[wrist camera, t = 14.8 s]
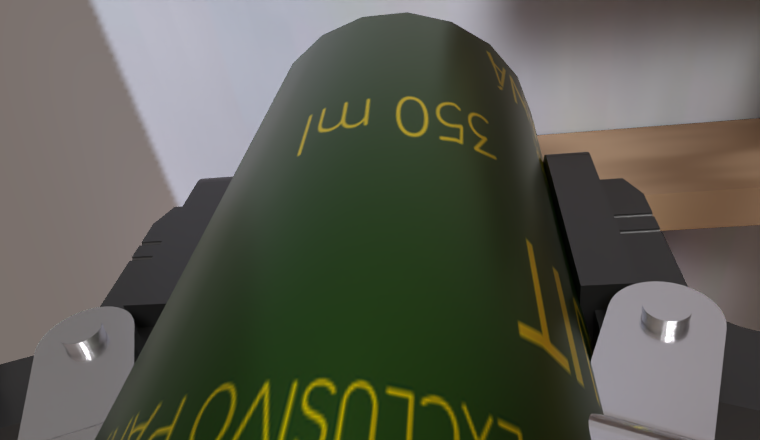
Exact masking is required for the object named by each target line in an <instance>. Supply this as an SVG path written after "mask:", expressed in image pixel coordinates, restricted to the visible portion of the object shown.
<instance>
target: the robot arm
mask: <svg viewBox="0 0 760 440" xmlns="http://www.w3.org/2000/svg"><path fill="white" fill-rule="evenodd" d="M543 164H544V168H545V172H546V175H547V179H548V183H549V187H550V191H551V195H552V199H553V203H554V206H555V210H556V214H557V218H558V222H559V226H560V230H561V234H562V237H563V241H564V245H565V249H566V253H567V257H568V261H569V265H570V269H571V272H572V276H573V280H574V284H575V288H576V292H577V296H578V300H579V303H580V306H581V309H582V311H583V314H584V318H585V322H586V326H587V330H588V333H589V337H590V341H591V345H592V349H593V356H592V359H591V365H592V369H593V373H594V377H595V381H596V385H597V389H598V393H599V397H600V401H601V405H602V409H603V414H604V415H601V414H597V413H592V414H591V415H590V417H589V431H590V436H591V440H760V332H759V331H755V330H750V329H746V328H743V327H740V326H736V325H734V324H731V323H729V322H727V321H726V319H725V316H724V314H723V312H722V311H721V309H720V308H719V307H718V305H717V304H716V303H715V302H714V301H712V300H711V299H710V298H709V297H707V296H706V295H704V294H702V293H701V292H699V291H696V290H694V289H692V288H689V287H688V286H687V284H686V282H685V280H684V278H683V275H682V273H681V271H680V269H679V267H678V265H677V263H676V261H675V259H674V257H673V254H672V252H671V250H670V248H669V246H668V244H667V242H666V240H665V238H664V235H663V233H662V232H660V227H659V225H658V223H657V221H656V219H655V217H654V216H653V212H652V210H651V208H650V206H649V204H648V202H647V200H646V198H645V195H644V193H642V192H641V191H639V190H638V189H637V188H635V187H634V186H633V185H631V184H630V183H629V182H627V181H626V180H625V179H623V178H616V179H601V180H600V178H599V176H598V173H597V171H596V168H595V165H594V163H593V160H592V158H591V155H590V153H589V152H576V153H562V154H548V155H544V159H543ZM232 178H233V177H221V178H208V179H200V180H199V181H198V182H197V184H196V185H195V187H194V189H193V190H192V192H191V194H190V195H189V197H188V199H187V200H186V202H185V204H184V205H183V207H174V208H173V209H172V210H170V211H169V212H168V213H167V214H165V215H164V216H163V217H162V218H160V219H159V220H158V221H156V222H155V223H154V224H153V225H152V227H151V229H150V230H149V232H148V233H147V235H146V237H145V238H144V239H143V241H142V246H139V247H138V249H137V250H136V252H135V253H134V255H133V257H132V258H133V260H132V261H129V263H128V264H127V266H126V267H125V269H124V270H123V272H122V274H121V275H120V277H119V278H118V280H117V281H116V283H115V284H114V286H113V288H112V289H111V291H110V292H109V294H108V295H107V297H106V298H105V300H104V301H103V303H102V305H101V306H100V307H96V308H92V309H88V310H85V311H82V312H79V313H77V314H74V315H72V316H70V317H68V318H66V319H65V320H63V321H61V322H60V323H59V324H57V325H56V326H54V327H53V328H52V329H51V330H49V331H48V333H47V334H45V335H44V337H43V338H42V340H41V341H40V342H39V344H38V345H37V347H36V350H35V353H34V356H30V357H27V358H23V359H19V360H16V361H12V362H8V363H4V364H1V365H0V440H95V438H96V436H97V434H98V432H99V430H100V429H101V427H102V425H103V423H104V421H105V419H106V417H107V415H108V413H109V411H110V410H111V408H112V406H113V404H114V402H115V400H116V398H117V396H118V394H119V393H120V391H121V389H122V387H123V385H124V383H125V381H126V379H127V377H128V375H129V374H130V372H131V370H132V368H133V366H134V364H135V362H136V360H137V358H138V356H139V355H140V353H141V351H142V349H143V347H144V345H145V343H146V341H147V339H148V337H149V336H150V334H151V332H152V330H153V328H154V326H155V324H156V322H157V320H158V319H159V317H160V315H161V313H162V311H163V309H164V307H165V305H166V303H167V301H168V300H169V298H170V296H171V294H172V292H173V290H174V288H175V286H176V284H177V282H178V281H179V279H180V277H181V275H182V273H183V271H184V269H185V267H186V265H187V264H188V262H189V260H190V258H191V256H192V254H193V252H194V250H195V248H196V246H197V245H198V243H199V241H200V239H201V237H202V235H203V233H204V231H205V229H206V227H207V226H208V224H209V222H210V220H211V218H212V216H213V214H214V212H215V210H216V209H217V207H218V205H219V203H220V201H221V199H222V197H223V195H224V193H225V191H226V190H227V188H228V186H229V184H230V182H231V180H232Z"/></svg>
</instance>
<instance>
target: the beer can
mask: <svg viewBox="0 0 760 440" xmlns="http://www.w3.org/2000/svg"><path fill="white" fill-rule="evenodd" d="M592 356H593V349H592V345H591V341H590V337H589V333H588V330H587V326H586V322H585V318H584V314H583V311H582V309H581V306H580V303H579V300H578V296H577V292H576V288H575V284H574V280H573V276H572V272H571V269H570V265H569V261H568V257H567V253H566V249H565V245H564V241H563V237H562V234H561V230H560V226H559V222H558V218H557V214H556V210H555V206H554V203H553V199H552V195H551V191H550V187H549V183H548V179H547V175H546V172H545V168H544V164H543V157H542V153H541V149H540V145H539V142H538V138H537V134H536V130H535V126H534V122H533V119H532V115H531V112H530V109H529V106H528V104H527V101H526V98H525V96H524V93H523V90H522V88H521V85H520V82H519V80H518V77H517V76H516V74H515V73H514V72H513V71H512V70H511V69H510V67H509V66H508V65H507V64H506V63H505V62H504V60H503V59H502V58H501V57H500V56H499V55H498V53H497V52H496V51H495V50H494V49H493V47H492V46H491V45H490V44H488V43H486V42H485V41H483V40H481V39H480V38H478V37H476V36H475V35H473V34H471V33H469V32H468V31H466V30H464V29H463V28H461V27H459V26H458V25H456V24H454V23H453V22H449V21H444V20H440V19H435V18H430V17H426V16H421V15H417V14H412V13H398V14H388V15H378V16H369V17H362V18H359V19H357V20H355V21H353V22H351V23H348V24H346V25H344V26H342V27H340V28H337V29H335V30H333V31H331V32H329V33H326V34H324V35H322V36H321V37H320V38H319V39H318V40H317V41H316V42H315V43H314V44H313V45H312V46H311V47H310V48H309V49H308V50H307V51H306V52H304V53H303V54H302V55H301V56H300V57H299V58H298V59H297V60H296V61H295V62H294V63H293V64H292V66H291V68H290V70H289V72H288V74H287V76H286V78H285V80H284V81H283V83H282V85H281V87H280V89H279V91H278V93H277V95H276V97H275V98H274V100H273V102H272V104H271V106H270V108H269V110H268V112H267V114H266V116H265V117H264V119H263V121H262V123H261V125H260V127H259V129H258V131H257V133H256V135H255V136H254V138H253V140H252V142H251V144H250V146H249V148H248V150H247V152H246V153H245V155H244V157H243V159H242V161H241V163H240V165H239V167H238V169H237V171H236V172H235V174H234V176H233V178H232V180H231V182H230V184H229V186H228V188H227V190H226V191H225V193H224V195H223V197H222V199H221V201H220V203H219V205H218V207H217V209H216V210H215V212H214V214H213V216H212V218H211V220H210V222H209V224H208V226H207V227H206V229H205V231H204V233H203V235H202V237H201V239H200V241H199V243H198V245H197V246H196V248H195V250H194V252H193V254H192V256H191V258H190V260H189V262H188V264H187V265H186V267H185V269H184V271H183V273H182V275H181V277H180V279H179V281H178V282H177V284H176V286H175V288H174V290H173V292H172V294H171V296H170V298H169V300H168V301H167V303H166V305H165V307H164V309H163V311H162V313H161V315H160V317H159V319H158V320H157V322H156V324H155V326H154V328H153V330H152V332H151V334H150V336H149V337H148V339H147V341H146V343H145V345H144V347H143V349H142V351H141V353H140V355H139V356H138V358H137V360H136V362H135V364H134V366H133V368H132V370H131V372H130V374H129V375H128V377H127V379H126V381H125V383H124V385H123V387H122V389H121V391H120V393H119V394H118V396H117V398H116V400H115V402H114V404H113V406H112V408H111V410H110V411H109V413H108V415H107V417H106V419H105V421H104V423H103V425H102V427H101V429H100V430H99V432H98V434H97V436H96V438H95V440H591V436H590V431H589V417H590V415H591V414H592V413H597V414H601V415H604V414H603V409H602V405H601V401H600V397H599V393H598V389H597V385H596V381H595V377H594V373H593V369H592V365H591V359H592Z"/></svg>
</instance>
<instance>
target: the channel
mask: <svg viewBox="0 0 760 440" xmlns="http://www.w3.org/2000/svg"><path fill="white" fill-rule="evenodd" d="M537 138H538V142H539V145H540V149H541V153H542V157H543V159H544V155H548V154H562V153H576V152H589V153H590V155H591V158H592V160H593V163H594V165H595V168H596V171H597V173H598V176H599V178H600V180H601V179H616V178H623V179H625V180H626V181H627V182H629V183H630V184H631V185H633V186H634V187H635V188H637V189H638V190H639V191H641V192H642V193H644V195H645V198H646V200H647V202H648V204H649V206H650V208H651V210H652V212H653V216H654V217H655V219H656V221H657V223H658V225H659V227H660V231H666V230H683V229H700V228H716V227H733V226H750V225H760V118H756V119H744V120H731V121H718V122H705V123H692V124H679V125H666V126H653V127H640V128H627V129H614V130H601V131H588V132H575V133H562V134H549V135H537Z"/></svg>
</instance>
